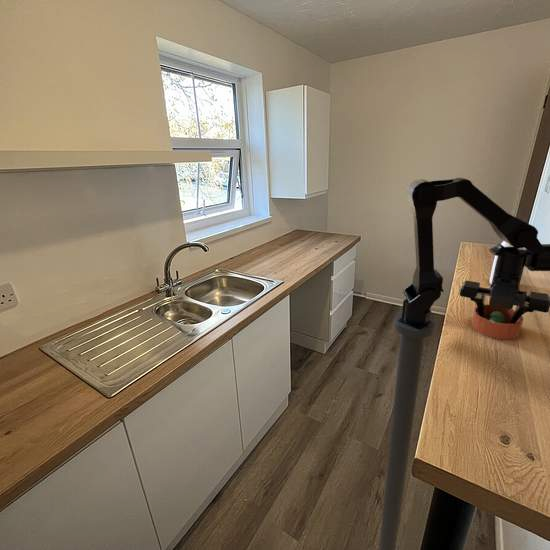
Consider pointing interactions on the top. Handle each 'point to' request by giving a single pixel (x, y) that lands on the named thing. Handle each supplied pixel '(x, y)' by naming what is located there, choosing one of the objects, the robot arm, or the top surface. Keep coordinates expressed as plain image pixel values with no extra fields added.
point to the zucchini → (497, 317)
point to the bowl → (493, 327)
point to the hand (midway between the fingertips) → (495, 322)
